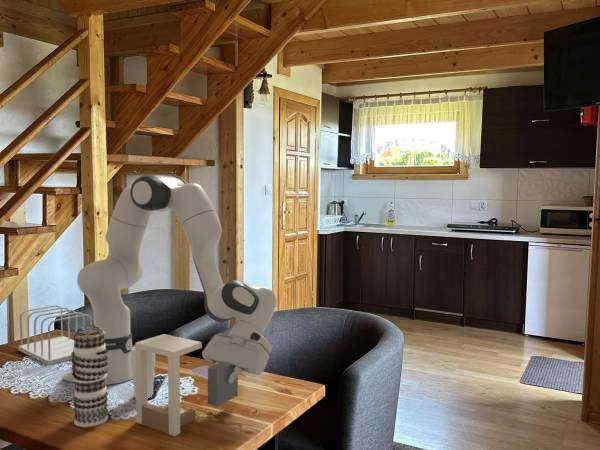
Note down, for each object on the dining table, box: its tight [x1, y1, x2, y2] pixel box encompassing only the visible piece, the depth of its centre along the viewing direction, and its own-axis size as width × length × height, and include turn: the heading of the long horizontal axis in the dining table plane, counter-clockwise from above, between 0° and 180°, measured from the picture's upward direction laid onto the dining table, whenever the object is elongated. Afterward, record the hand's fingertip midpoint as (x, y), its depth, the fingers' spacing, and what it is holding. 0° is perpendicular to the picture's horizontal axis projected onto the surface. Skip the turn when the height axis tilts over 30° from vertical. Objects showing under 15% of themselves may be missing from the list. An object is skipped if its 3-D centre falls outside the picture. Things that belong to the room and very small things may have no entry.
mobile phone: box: [189, 365, 211, 380], centre depth 177 cm, size 8×1×15 cm
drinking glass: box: [131, 345, 156, 400], centre depth 157 cm, size 7×7×15 cm
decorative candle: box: [70, 325, 109, 428], centre depth 141 cm, size 9×9×25 cm
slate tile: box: [206, 362, 239, 407], centre depth 147 cm, size 9×3×10 cm, turn 148°
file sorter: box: [17, 304, 93, 366], centre depth 198 cm, size 25×17×16 cm
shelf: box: [134, 333, 203, 437], centre depth 141 cm, size 12×14×22 cm
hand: (221, 380), depth 147 cm, fingers closed on slate tile, 3 cm apart
